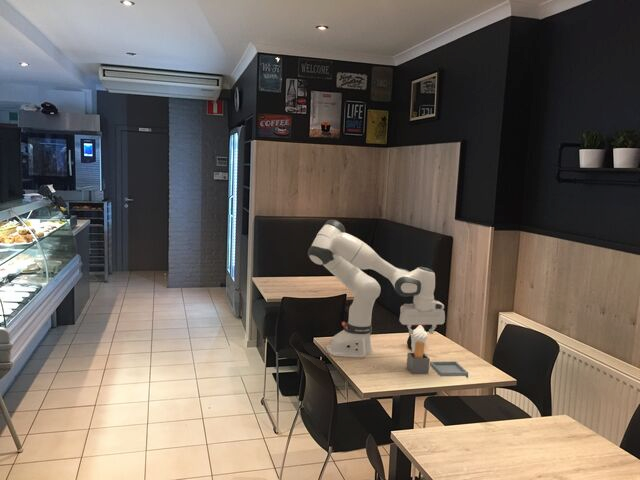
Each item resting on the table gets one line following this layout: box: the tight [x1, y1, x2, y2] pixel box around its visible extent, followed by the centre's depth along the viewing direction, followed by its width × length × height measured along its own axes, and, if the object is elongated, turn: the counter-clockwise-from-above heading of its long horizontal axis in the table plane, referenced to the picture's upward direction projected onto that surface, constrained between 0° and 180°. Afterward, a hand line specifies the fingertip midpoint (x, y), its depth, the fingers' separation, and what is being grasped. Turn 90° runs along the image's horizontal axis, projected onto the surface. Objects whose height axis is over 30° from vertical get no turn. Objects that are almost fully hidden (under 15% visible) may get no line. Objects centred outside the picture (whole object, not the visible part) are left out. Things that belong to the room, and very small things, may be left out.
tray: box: [429, 360, 469, 379], centre depth 242 cm, size 13×13×2 cm
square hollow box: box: [406, 352, 431, 375], centre depth 239 cm, size 8×8×8 cm
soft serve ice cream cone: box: [410, 325, 429, 353], centre depth 258 cm, size 8×8×16 cm
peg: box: [414, 341, 426, 358], centre depth 238 cm, size 4×4×13 cm
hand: (420, 333), depth 237 cm, fingers open, 8 cm apart
